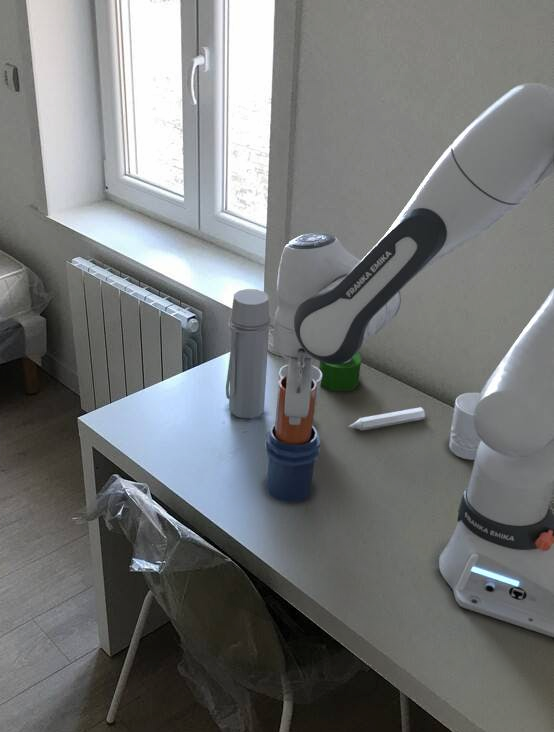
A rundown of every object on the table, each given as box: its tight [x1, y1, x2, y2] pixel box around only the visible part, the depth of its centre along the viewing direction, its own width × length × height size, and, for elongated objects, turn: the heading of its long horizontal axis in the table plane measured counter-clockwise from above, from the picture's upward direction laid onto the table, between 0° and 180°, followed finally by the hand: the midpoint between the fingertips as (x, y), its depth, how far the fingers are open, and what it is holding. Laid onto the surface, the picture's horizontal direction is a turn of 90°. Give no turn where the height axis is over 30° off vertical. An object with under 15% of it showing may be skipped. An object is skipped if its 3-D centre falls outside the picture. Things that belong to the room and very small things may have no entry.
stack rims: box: [265, 430, 321, 466], centre depth 144 cm, size 9×9×2 cm
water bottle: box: [225, 288, 272, 419], centre depth 162 cm, size 9×8×25 cm
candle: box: [318, 352, 362, 392], centre depth 175 cm, size 8×8×10 cm
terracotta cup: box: [274, 375, 317, 445], centre depth 140 cm, size 6×6×10 cm
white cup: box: [448, 392, 481, 461], centre depth 154 cm, size 8×8×10 cm
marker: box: [346, 406, 426, 431], centre depth 164 cm, size 3×2×16 cm
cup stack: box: [265, 423, 319, 503], centre depth 146 cm, size 8×8×12 cm
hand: (295, 409), depth 140 cm, fingers closed on terracotta cup, 6 cm apart
